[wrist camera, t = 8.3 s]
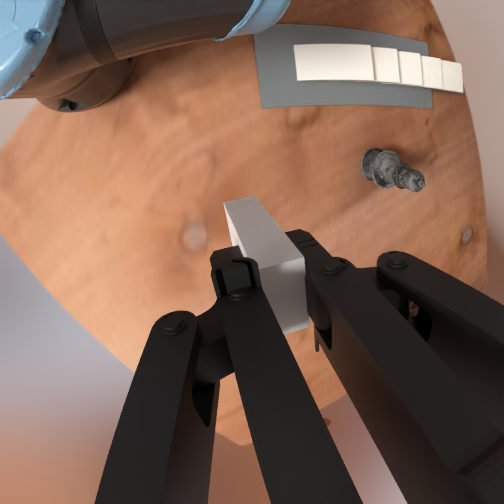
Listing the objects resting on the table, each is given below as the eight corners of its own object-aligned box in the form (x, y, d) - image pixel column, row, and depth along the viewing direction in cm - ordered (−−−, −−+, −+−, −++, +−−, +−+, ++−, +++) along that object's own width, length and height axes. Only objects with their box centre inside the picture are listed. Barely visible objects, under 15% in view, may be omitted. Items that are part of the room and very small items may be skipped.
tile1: (297, 80, 34) (374, 80, 32) (293, 44, 32) (370, 45, 30) (297, 81, 36) (371, 81, 34) (293, 46, 33) (367, 46, 31)
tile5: (409, 85, 37) (463, 92, 35) (406, 55, 34) (461, 63, 32) (406, 85, 38) (459, 92, 36) (403, 56, 36) (457, 64, 34)
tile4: (383, 83, 36) (442, 89, 34) (380, 51, 34) (440, 58, 32) (380, 83, 38) (438, 89, 36) (377, 52, 35) (436, 59, 33)
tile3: (357, 81, 35) (422, 85, 34) (353, 47, 33) (419, 53, 31) (355, 81, 37) (418, 85, 35) (352, 49, 35) (416, 54, 33)
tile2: (328, 80, 35) (399, 82, 33) (324, 45, 33) (396, 49, 31) (327, 80, 36) (396, 83, 34) (324, 47, 34) (393, 50, 32)
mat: (261, 108, 37) (262, 108, 36) (251, 25, 31) (252, 24, 31) (431, 108, 41) (432, 108, 41) (426, 43, 35) (427, 43, 35)
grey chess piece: (389, 146, 43) (442, 162, 32) (388, 181, 46) (437, 205, 35) (359, 146, 42) (410, 163, 31) (358, 184, 45) (406, 209, 34)
